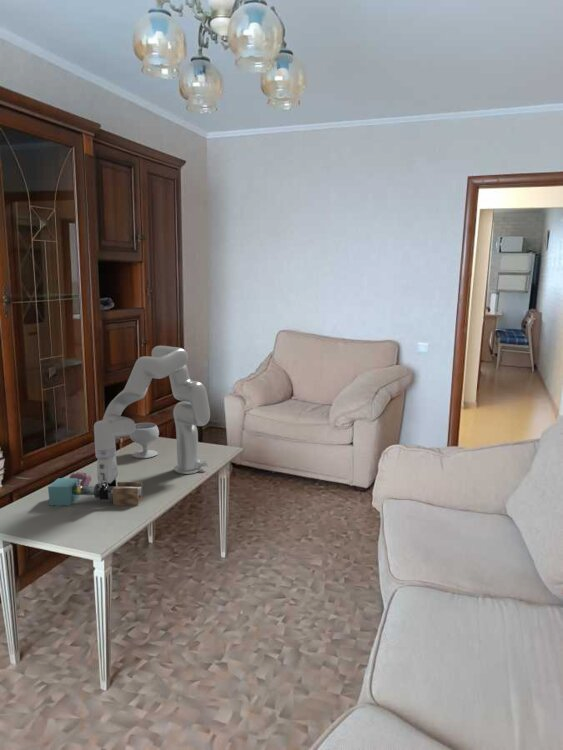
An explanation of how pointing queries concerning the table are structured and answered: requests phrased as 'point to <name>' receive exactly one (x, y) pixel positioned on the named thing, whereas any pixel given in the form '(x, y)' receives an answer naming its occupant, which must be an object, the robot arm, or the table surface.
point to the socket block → (63, 491)
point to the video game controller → (82, 478)
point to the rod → (97, 490)
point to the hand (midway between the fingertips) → (108, 494)
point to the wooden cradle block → (127, 493)
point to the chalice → (145, 438)
